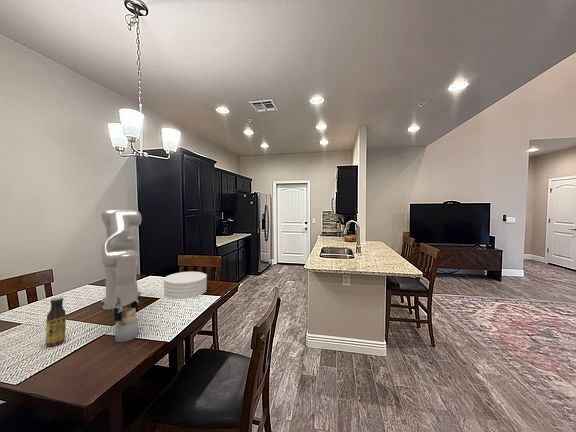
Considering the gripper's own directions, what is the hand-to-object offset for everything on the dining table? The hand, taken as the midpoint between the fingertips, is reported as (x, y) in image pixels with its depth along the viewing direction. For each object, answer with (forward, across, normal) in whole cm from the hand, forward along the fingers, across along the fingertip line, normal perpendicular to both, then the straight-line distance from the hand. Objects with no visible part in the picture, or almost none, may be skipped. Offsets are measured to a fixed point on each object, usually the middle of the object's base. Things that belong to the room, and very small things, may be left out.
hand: (126, 315), depth 114 cm
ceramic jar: (+10, 0, 0) cm, 10 cm away
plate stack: (+10, -59, -5) cm, 60 cm away
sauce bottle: (+10, +10, -26) cm, 30 cm away
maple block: (+3, 0, 0) cm, 3 cm away
